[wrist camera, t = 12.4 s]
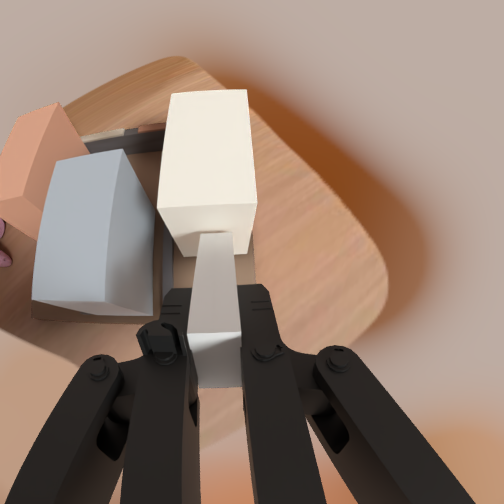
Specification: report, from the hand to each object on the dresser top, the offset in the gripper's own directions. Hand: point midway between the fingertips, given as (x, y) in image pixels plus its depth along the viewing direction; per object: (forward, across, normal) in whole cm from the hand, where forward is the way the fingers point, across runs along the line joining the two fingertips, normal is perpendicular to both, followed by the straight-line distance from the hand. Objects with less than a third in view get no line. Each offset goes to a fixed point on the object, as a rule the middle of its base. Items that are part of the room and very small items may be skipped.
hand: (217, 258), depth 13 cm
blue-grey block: (+3, -6, -2) cm, 7 cm away
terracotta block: (+7, -12, +2) cm, 14 cm away
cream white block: (+6, 0, +1) cm, 6 cm away
